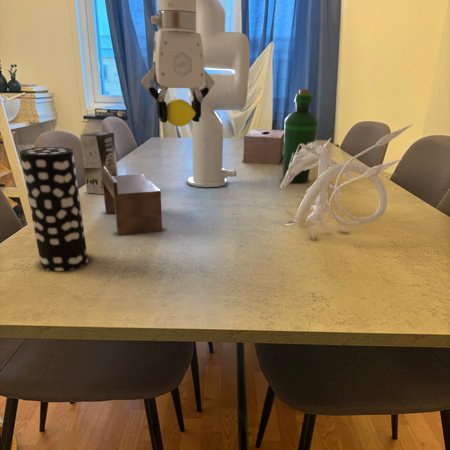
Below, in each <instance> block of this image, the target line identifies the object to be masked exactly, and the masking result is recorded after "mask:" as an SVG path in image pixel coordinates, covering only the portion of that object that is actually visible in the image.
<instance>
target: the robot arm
mask: <svg viewBox="0 0 450 450" xmlns="http://www.w3.org/2000/svg"><path fill="white" fill-rule="evenodd" d="M156 3H157V12H156V14H154V15H150V23H151V25H155V26H156V28H157V29H158V30H156V31H155V32H154V40H153V52H152V55H153V56H152V67H151V68H150V69H149V71H148V72H147V73H146V74H145V75H144V76H143V77H142V78H141V79H140V83H141V85H142V86H143V87H144V88H145V90H146V91H147V92H148V93H149V94H150V96H151V97H153V98H154V100H155V101H156V110H157V113H156V114H157V117H158V118H157V119H159V121H160V122H161V123H168V121H167V102H166V101H165V97H166V95H167V92H168V90H169V89H188V95H189V102H190V103H189V104H190V105H191V107H192V108H193V109H194V111H195V112H196V115H195V116H194V117H193V118H192V120H191V126H192V127H191V128H192V129H191V130H192V131H191V132H192V133H191V135H192V138H191V139H192V176H191V177H189V178H188V179H187V183H188V184H189V185H191V186H194V187H198V188H218V187H224V186H225V185H227V184H228V180H227V178H228V177H229V178H233V177H237V170H234V169H233V170H230V169H225V168H223V158H224V157H223V155H224V151H223V150H224V124H223V122H222V120H221V118H220V117H219V115H218V114H217V112H216V111H241V110H244V109H245V108H246V106H247V103H248V97H249V83H250V81H249V79H250V78H249V77H250V62H251V61H250V59H251V57H250V55H251V47H250V40H249V38H248V36H247V35H246V34H244V33H242V32H239V31H226V11H225V9H224V7H223V5H222V3H221V2H220V0H157V2H156ZM206 70H214V71H215V70H218V71H231V72H232V73H233V74H226V73H224V74H223V73H221V74H220V73H208V72H207V71H206ZM152 80H153V83H154V84H155V86H157V89H156V88H155V87H154V86H153V84H152V83H151V81H152Z"/></svg>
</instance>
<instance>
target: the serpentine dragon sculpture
mask: <svg viewBox="0 0 450 450" xmlns="http://www.w3.org/2000/svg"><path fill="white" fill-rule="evenodd" d="M412 126H413V123H412V124H409V125H407V126H405V127H403V128H401V129H398V130H395V131H393V132H390V133H388V134H386V135H384V136H382V137H381V138H380V139H378V140H377V142H376V143H375V144H373V145H372V146H370V147H368V148H366V149H365V150H363V151H361V152H360V153H357V154H356V155H354V156H353V157H351V158H350V159H349V160H347V162H341V163H338V162H336V161H335V160H334V159H332V158H330V157H335V155H333V154H330V152H329V150H328V148H327V147H328V145H329V143H330V142H331V139H332V137H330V138H329V139H328V140H327V141H326V142H325V143H324V144H319V143H318V142H316V141H315V142H311V143H309V144H307V145H304V144H302V143H301V144H299V145H300V146H301V147H302V149H300V151H299V152H298V153H297V151H298V148H299V146H298V148H297V151H296V153H295V155H294V158H293V160H292V158H291V161H292V163H291V161H290V164H289V168H288V171H287V172H286V174H285V177H284V179H283V178H282V180H281V181H282V182H281V184H280V186H279V188H280V189H282V190H284V189H285V188H287V187H288V185H289V184H291V183H290V182H291V181H292V180H293V178H294V177H295V176H296V175H297V174H299V173H300V172H301V171H303V170H304V171H305V170H307V169H310V170H311V169H312V168H316V166H317V178H316V180H314V182H313V184H312V185H311V186H309V187H308V188H306V190H305V192H304V193H305V194H304V197H303V199H302V200H301V202H300V204H299V206H298V209H297V211H296V214H295V215H294V214H293V213H292V212H290V211H288V210H287V209H286V208H284V211H285V212H286V213H287V214H288V215H289V216H290V217H292V218H293V220H292V223H288V224H287V223H286V226H293V225H296V227H297V228H298V229H300V230H301V229H302V230H307V229H308V230H309V232H310V235H311V237H312V240H313V241H314V240H315V236H314V233H313V229H312V227H313V226H314V225H316V224H317V223H318V222H320V225H321V226H322V227H323V228H324V230H325V231H326V232H327V233H329V228H328V227H327V226H326V225H327V224H326V223H325V221H324V220H323V219H322V216H323V215H324V213H325V212H327V213H328V215H329V217H330V218H331V219H333V220H334V221H335V222H336V225H338V226H339V228H340V231H342V232H343V233H346V229H345V227H352V228H353V227H361V226H365V225H369V224H371V223H373V222H376V221H377V220H379V219H380V218H381V217H382V216H383V215H384V213H385V212H386V210H387V207H388V194H387V189H386V187H385V185H384V183H383V181H382V179H381V178H380V177H379V174H381V173H383V172H384V171H385V170H387V169H389V168H390V167H392V166H394V165H395V164H397V163H398V162H400V161H402V160H403V158H400V159H395V160H392V161H388V162H384V163H382V164H379V165H374V166H371V167H367V166H366V165H363V164H360V163H356V162H353V161H354V160H355V159H357V158H359V157H361V156H362V155H364V154H366V153H367V152H369V151H371V150H372V149H374V148H376V147H380V146H385V145H387V144H389V143H390V142H391V141H392V140H394V139H396V138H397V137H398V136H400V135H401V134H402V133H404V132H405V131H406V130H408V129H409V128H410V127H412ZM312 143H313V144H312ZM296 154H297V155H296ZM292 157H293V154H292ZM309 164H310V165H309ZM330 164H331V165H330ZM351 173H355V174H358V175H359V176H356V177H354V176H353V175H352V174H351ZM343 174H344V175H346V176H347V177H348V178H349V180H347V181H345V182H342V183H341V184H339V183H340V180H341V178H342V175H343ZM336 176H337V177H336ZM335 177H336V180H335V183H334V184H332V183H331V182H330V181H331V180H332V179H334V178H335ZM362 178H366V179H368V180H369V181H370V182H371V183H372V184H373V186H374V187H375V189H376V191H377V194H378V198H379V204H378V205H379V206H378V208H377V210H376V211H375V212H374V213H373V214H372V215H371V214H370V215H369V216H361V217H357V216H354V215H352V214H350V213H348V212H347V211H346V210H345V209H344V208H343V206H342V204H341V202H340V199H339V193H340V194H342V195H343V194H344V192H343V191H342V190H341V188H343V187H344V186H346V185H348V184H351V183H354V182H356V181H358V180H360V179H362ZM329 187H330V189H332V190H333V192H332V193H331V196H330V199H329V193H328V191H329V190H328V189H329ZM333 200H335V203H336V207H337V208H338V210H339V211H340V213H341V214H342V215H344V216H345V217H346V218H348V219H350V220H351V221H354V222H346V221H344V220H343V219H342V217H341V216H340V215H339V214H337V212H335V211H334V210H333ZM327 205H328V207H327ZM310 212H311V214H310V215H309V213H310Z"/></svg>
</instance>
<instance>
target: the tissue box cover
mask: <svg viewBox="0 0 450 450" xmlns="http://www.w3.org/2000/svg"><path fill="white" fill-rule="evenodd" d="M242 157H243V159H242V160H243V161H242V163H251V164H267V165H279V164H280V163H281V160H282V157H284V129H265V128H252V129H251V130H250V131H248V132H247V133H246V134H245V135H244V136H243V156H242Z"/></svg>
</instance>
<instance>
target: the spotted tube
mask: <svg viewBox="0 0 450 450" xmlns="http://www.w3.org/2000/svg"><path fill="white" fill-rule="evenodd" d="M19 156H20V162H21V166H22V173H23V177H24V178H23V179H24V182H25V187H26V188H25V189H26V193H27V197H28V203H29V208H30V213H31V220H32V225H33V229H34V235H35V240H36V246H37V251H38V256H39V261H40V265H41V267H42V268H43V269H45V270H47V271H51V272H64V271H65V272H67V271H72V270H76V269H79V268H81V267H83V266H85V265H86V264H87V263H88V261H89V258H88V251H87V250H88V249H87V243H86V236H85V228H84V221H83V214H82V213H83V212H82V208H81V199H80V198H81V197H80V192H79V183H78V177H77V169H76V162H75V154H74V149H72V148H70V147H61V146H43V147H41V146H40V147H31V148H25V149H21V150H20V151H19Z"/></svg>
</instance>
